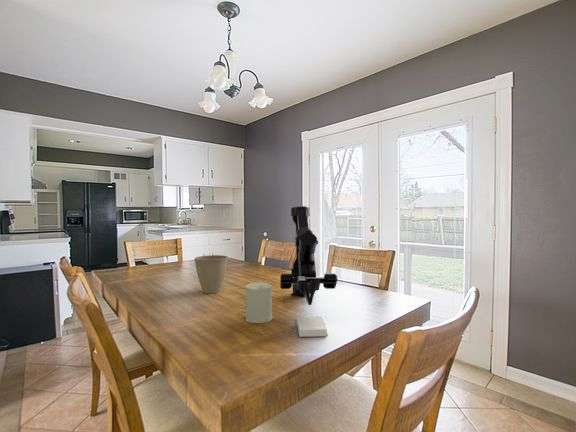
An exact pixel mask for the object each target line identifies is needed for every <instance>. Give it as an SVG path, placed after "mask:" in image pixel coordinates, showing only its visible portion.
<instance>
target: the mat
mask: <svg viewBox="0 0 576 432" xmlns="http://www.w3.org/2000/svg"><path fill="white" fill-rule="evenodd" d="M294 324H295V330H296V331H295V332H296V335H297V338H300V337H299V332H298V326H297V319H295V320H294ZM309 337H310V338H311V337H313V338H315V337H318V338H319V337H320V336H303V337H302V338H309ZM326 337H329V335H328V334H327V336H326Z"/></svg>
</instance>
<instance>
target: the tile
mask: <svg viewBox="0 0 576 432" xmlns="http://www.w3.org/2000/svg"><path fill="white" fill-rule="evenodd" d="M296 320H297V326H298V332H299V337H298V338H304V337H303V336H319V337H328V336H327V335H328V330H327V327H326V324H325V322H324V320H323V317H322V316H297V317H296Z"/></svg>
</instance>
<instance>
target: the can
mask: <svg viewBox="0 0 576 432" xmlns="http://www.w3.org/2000/svg"><path fill="white" fill-rule="evenodd" d="M271 320H273V285H272V284H271V283H268V282H251V283H248V284H246V285H245V322H246V323H253V324H263V323H268V322H270V321H271Z"/></svg>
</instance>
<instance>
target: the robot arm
mask: <svg viewBox="0 0 576 432" xmlns="http://www.w3.org/2000/svg"><path fill="white" fill-rule="evenodd" d="M310 216H311V208H310V207H308V206H307V205H296V206H295V205H293V206H292V207H290V217H291V221H292V222H293V225H294V226H295V237H294V247H295V259H294V261H293V263H292V267H291V268H290V272H289V273H281V274H280V275H279V276H280V278H279V280H280V281H279V282H280V283H279V284H280V289H281V290H290V289H291V288H292V293H290V296H296V297H301V298H305V300H306V302H307V304H308V306H312V305H313V299H314V296H315V293H316V291H319V290H320V286H321V285H322V286H323V288H324V289H325V290H326V289H327V290H331V289H333V290H334V289H336V286H337V283H338V275H337V274H336V273H334V272H333V273H332V272H331V273H327V272H326V273H324V275H323V277H321V276H319V277H317V271H316V262H315V260H316V259H315V253H316V250H317V249H316V247H317V245H318V244H319V240H318V239H317V238H318V237H317V236H316V235H315V234H314V232H313V230H311V229H310V226H309V217H310Z"/></svg>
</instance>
